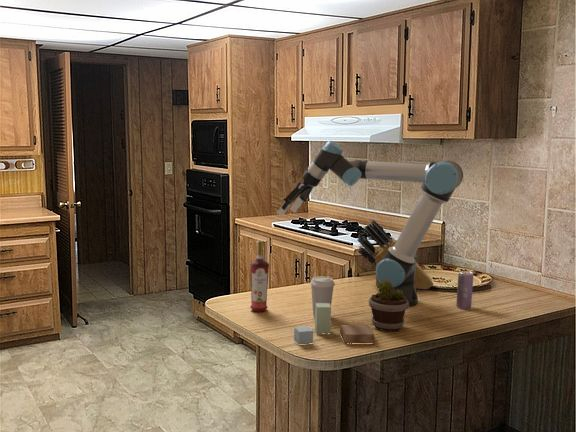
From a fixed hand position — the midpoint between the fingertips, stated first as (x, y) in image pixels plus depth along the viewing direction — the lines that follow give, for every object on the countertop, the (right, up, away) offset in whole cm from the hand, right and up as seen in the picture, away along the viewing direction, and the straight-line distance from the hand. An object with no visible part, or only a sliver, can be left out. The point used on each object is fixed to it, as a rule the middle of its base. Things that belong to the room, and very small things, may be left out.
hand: (285, 212), depth 270 cm
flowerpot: (+38, -43, -35) cm, 67 cm away
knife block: (+50, -34, +25) cm, 66 cm away
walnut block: (+25, -45, -49) cm, 71 cm away
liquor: (-11, -39, -18) cm, 44 cm away
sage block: (+13, -43, -42) cm, 62 cm away
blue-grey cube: (+6, -45, -54) cm, 70 cm away
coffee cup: (+14, -41, -24) cm, 49 cm away
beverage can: (+74, -40, -8) cm, 84 cm away
